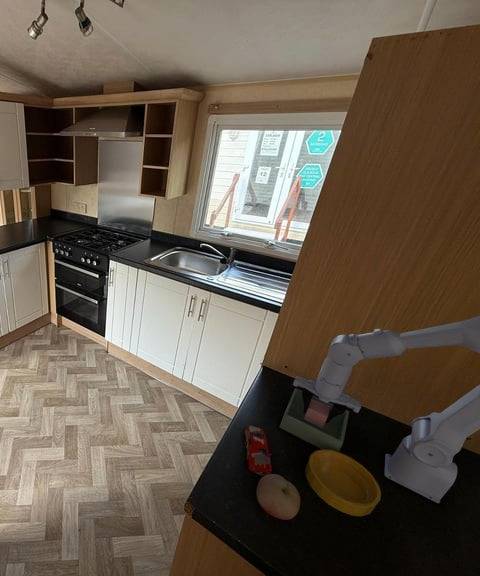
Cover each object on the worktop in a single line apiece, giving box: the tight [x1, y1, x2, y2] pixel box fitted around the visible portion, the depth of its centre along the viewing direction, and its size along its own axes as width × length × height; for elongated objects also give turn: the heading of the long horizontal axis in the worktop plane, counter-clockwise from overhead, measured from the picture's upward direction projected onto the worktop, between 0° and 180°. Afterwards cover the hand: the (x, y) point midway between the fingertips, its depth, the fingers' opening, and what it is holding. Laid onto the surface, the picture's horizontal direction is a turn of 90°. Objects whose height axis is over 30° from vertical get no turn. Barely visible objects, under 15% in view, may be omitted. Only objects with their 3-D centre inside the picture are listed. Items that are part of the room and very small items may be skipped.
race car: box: [243, 425, 273, 477], centre depth 79 cm, size 13×5×4 cm, turn 161°
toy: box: [304, 399, 330, 428], centre depth 85 cm, size 4×4×4 cm
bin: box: [279, 387, 350, 452], centre depth 86 cm, size 13×13×6 cm
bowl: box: [304, 449, 382, 517], centre depth 72 cm, size 13×13×4 cm
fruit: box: [256, 473, 301, 521], centre depth 67 cm, size 8×8×8 cm
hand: (315, 415), depth 86 cm, fingers closed on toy, 4 cm apart
